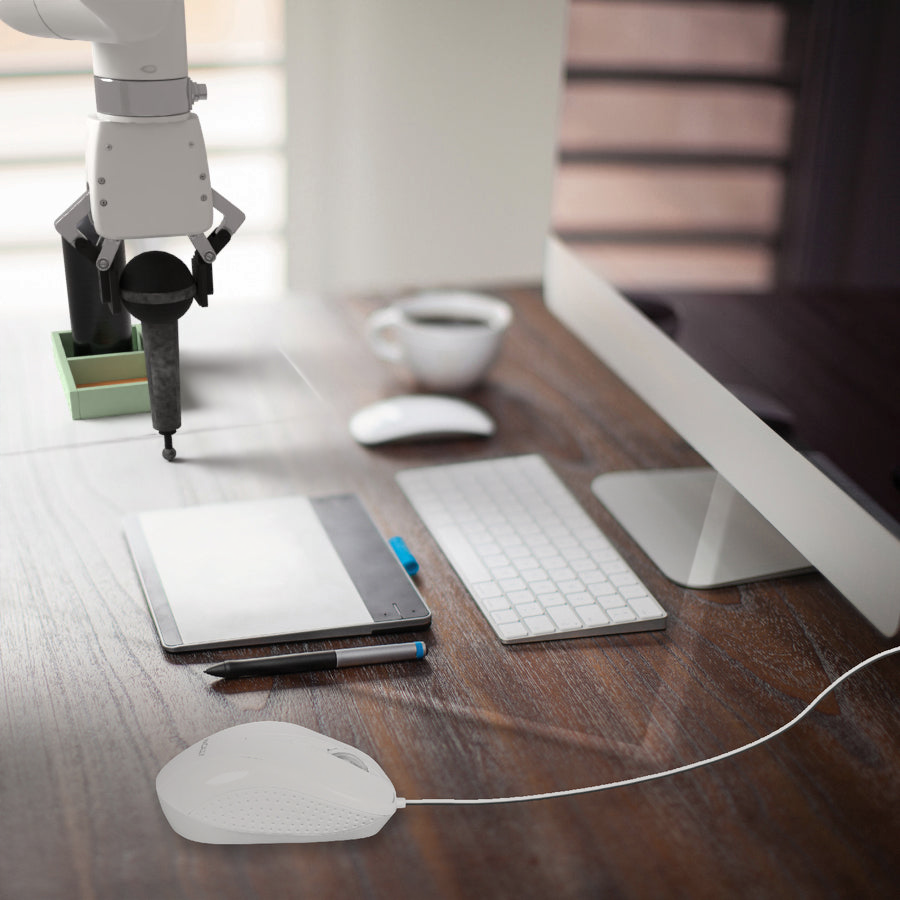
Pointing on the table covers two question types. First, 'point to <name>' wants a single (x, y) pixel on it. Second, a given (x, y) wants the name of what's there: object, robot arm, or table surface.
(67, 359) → the mic rack
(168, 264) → the microphone
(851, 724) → the table surface
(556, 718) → the table surface
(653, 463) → the table surface
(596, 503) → the table surface
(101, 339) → the black domed cylinder
